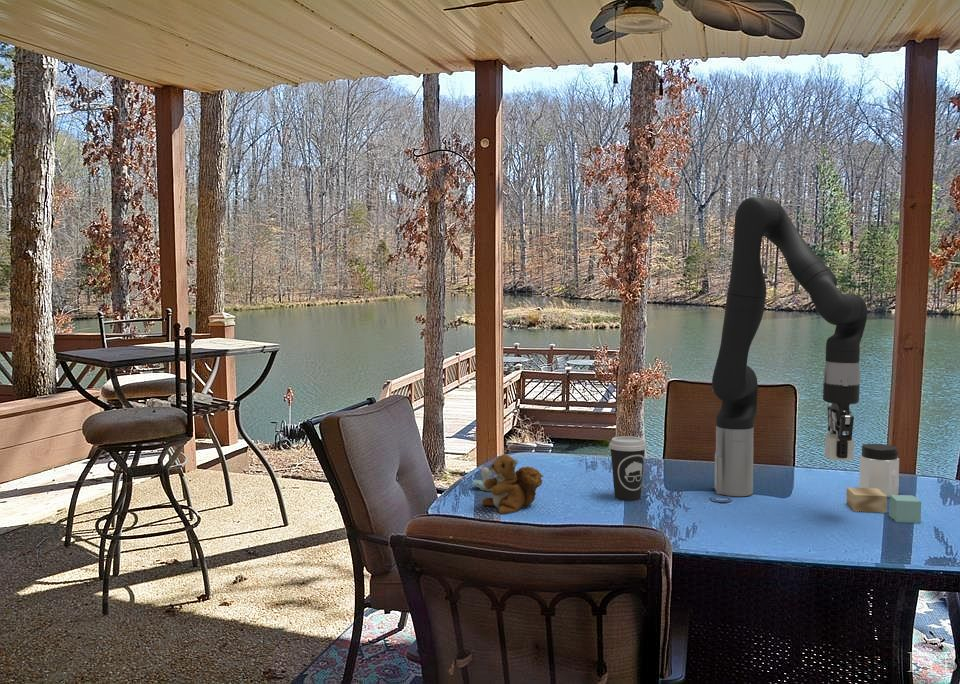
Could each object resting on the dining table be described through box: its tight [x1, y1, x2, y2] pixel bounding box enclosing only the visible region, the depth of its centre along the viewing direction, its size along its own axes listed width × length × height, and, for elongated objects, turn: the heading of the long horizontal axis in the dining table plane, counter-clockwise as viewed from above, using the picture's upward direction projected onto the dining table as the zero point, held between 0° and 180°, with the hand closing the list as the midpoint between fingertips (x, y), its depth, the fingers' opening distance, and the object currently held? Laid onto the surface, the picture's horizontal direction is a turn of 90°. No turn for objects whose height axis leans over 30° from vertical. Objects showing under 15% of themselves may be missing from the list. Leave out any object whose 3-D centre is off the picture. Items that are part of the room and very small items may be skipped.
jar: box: [858, 443, 900, 498], centre depth 197 cm, size 9×8×12 cm
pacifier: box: [472, 466, 492, 492], centre depth 206 cm, size 7×6×6 cm
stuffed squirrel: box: [481, 453, 544, 515], centre depth 189 cm, size 10×14×13 cm
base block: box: [845, 486, 888, 514], centre depth 184 cm, size 7×7×4 cm
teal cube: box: [888, 494, 922, 524], centre depth 175 cm, size 5×5×5 cm
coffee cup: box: [608, 435, 648, 502], centre depth 196 cm, size 10×10×15 cm
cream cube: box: [824, 433, 855, 461], centre depth 177 cm, size 5×5×5 cm
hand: (838, 454), depth 177 cm, fingers closed on cream cube, 5 cm apart
